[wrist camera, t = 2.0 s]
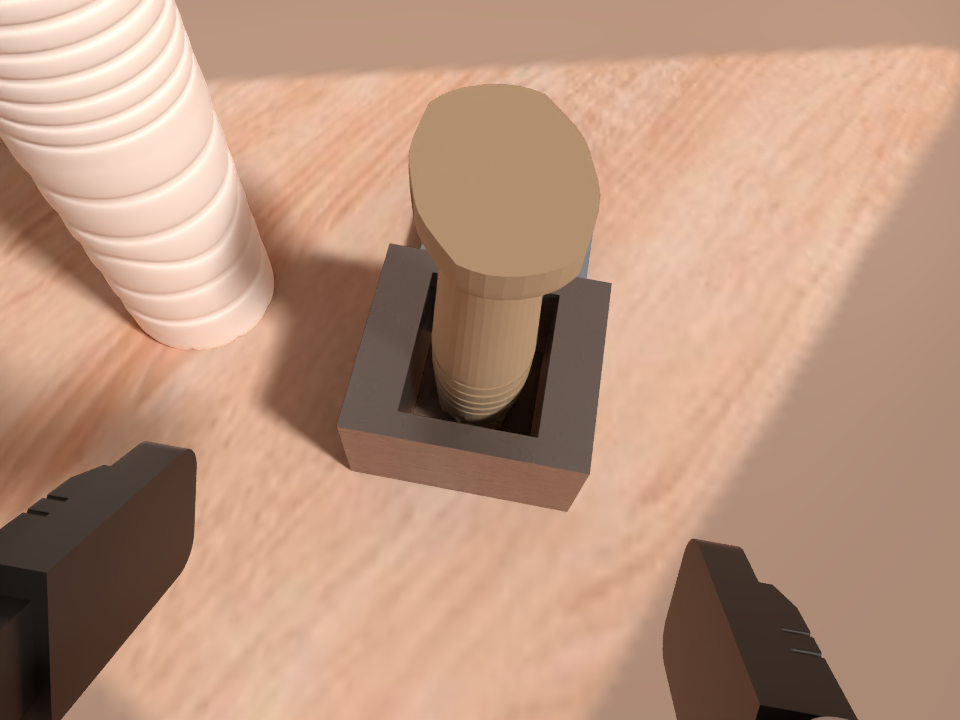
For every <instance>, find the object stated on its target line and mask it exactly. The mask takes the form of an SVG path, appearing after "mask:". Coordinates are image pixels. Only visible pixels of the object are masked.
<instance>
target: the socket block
mask: <svg viewBox="0 0 960 720" xmlns="http://www.w3.org/2000/svg"><path fill="white" fill-rule="evenodd" d="M438 270H439V268H438V267H437V265H436V264H435V262H434V261H433V260H432V258H431V257H430V255H429V254H428V252H427V250H424V249H418V248H412V247H407V246H401V245H396V244H389V248H388V251H387V254H386V258H385V261H384V265H383V268H382V272H381V275H380V279H379V282H378V285H377V289H376V292H375V296H374V299H373V303H372V306H371V310H370V313H369V316H368V320H367V323H366V327H365V330H364V334H363V337H362V341H361V344H360V347H359V351H358V354H357V358H356V361H355V365H354V368H353V372H352V375H351V378H350V382H349V385H348V389H347V392H346V396H345V399H344V403H343V406H342V409H341V413H340V416H339V420H338V423H337V429H338V432H339V435H340V438H341V441H342V444H343V448H344V451H345V454H346V457H347V460H348V463H349V466H350V469H351V471H357V472H362V473H367V474H372V475H378V476H383V477H388V478H393V479H398V480H404V481H409V482H414V483H419V484H425V485H430V486H435V487H440V488H446V489H451V490H456V491H461V492H467V493H472V494H477V495H482V496H488V497H493V498H498V499H503V500H508V501H514V502H519V503H524V504H529V505H535V506H540V507H545V508H550V509H556V510H561V511H566V512H567V511H568V509H569V508H570V506H571V504H572V503H573V501H574V500H575V498H576V496H577V495H578V493H579V491H580V490H581V488H582V486H583V485H584V483H585V481H586V480H587V478H588V476H589V475H590V467H591V458H592V450H593V441H594V432H595V423H596V415H597V406H598V397H599V389H600V380H601V371H602V363H603V354H604V345H605V336H606V328H607V319H608V310H609V302H610V293H611V284H612V283H607V282H601V281H596V280H590V279H585V278H579V277H576V278H574V279H573V280H572V281H571V282H569V283H568V284H567V285H565V286H563V287H562V288H560V289H558V290H557V291H555V292H552V293H549V294H546V295H543V297H542V304H541V311H540V319H539V326H538V334H537V341H536V348H535V351H538V352H544V353H543V359H542V365H541V372H540V378H539V384H538V391H537V397H536V403H535V410H534V416H533V422H532V429H531V435H530V436H525V435H520V434H515V433H509V432H504V431H499V430H493V429H488V428H483V427H477V426H472V425H467V424H461V423H456V422H451V421H445V420H440V419H435V418H429V417H424V416H419V415H413V414H414V409H415V405H416V401H417V397H418V393H419V389H420V384H421V380H422V376H423V372H424V368H425V364H426V359H427V355H428V351H429V347H430V343H431V339H432V328H433V319H434V310H435V301H436V291H437V281H438Z"/></svg>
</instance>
